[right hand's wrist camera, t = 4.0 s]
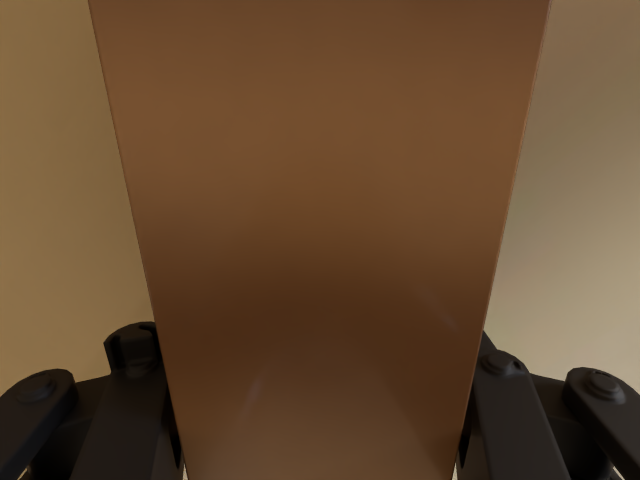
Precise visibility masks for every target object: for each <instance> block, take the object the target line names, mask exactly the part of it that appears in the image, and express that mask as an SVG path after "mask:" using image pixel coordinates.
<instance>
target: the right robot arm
mask: <svg viewBox="0 0 640 480" xmlns="http://www.w3.org/2000/svg"><path fill="white" fill-rule="evenodd" d="M103 344H104V347H105V351H106V354H107V358H108V361H109V365H110V368H111V374H110V375H107V376H103V377H99V378H95V379H90V380H86V381H81V382H77V383H75V381H74V378H73V375H72V373H70V372H69V371H68V370H64V369H51V370H45V371H42V372H39V373H35V374H33V375H30V376H29V377H27V378H25V379H23V380H21V381H19V382H18V383H16V384H15V385H14V386H12V387H11V388H10V389H8V390H7V391H6V392H5V393H4V394H3V395H2V396H1V397H0V480H17V479H18V478H19V476H20V475H21V474H22V472H23V471H24V470H25V468H27V471H26V472H25V474H24V475H23V476H22V477H21V478H20V479H19V480H183V470H184V458H183V454H182V449H181V444H180V439H179V435H178V430H177V425H176V420H175V415H174V411H173V406H172V401H171V396H170V392H169V387H168V382H167V377H166V372H165V368H164V363H163V358H162V353H161V348H160V344H159V339H158V334H157V329H156V325H155V322H151V321H150V322H138V323H134V324H130V325H127V326H125V327H122V328H120V329H118V330H116V331H115V332H114V333H112V334H111V335H109V336H108V338H107V339H106V340H105V341H104V343H103ZM614 466H615V468H616V469H617V470H618V471H619V473H620V474H621V475H622V477H623V478H624V479H625V480H640V395H639V394H638V393H637V392H636V391H635V390H634V389H633V388H631V387H630V386H629V385H627V384H626V383H625V382H624V381H622V380H620V379H619V378H617V377H615V376H613V375H611V374H609V373H606V372H604V371H601V370H597V369H593V368H586V367H580V368H573V369H572V370H571V371H569V372H568V374H567V377H566V380H565V381H561V380H556V379H552V378H547V377H542V376H538V375H535V374H531V373H529V371H528V369H527V368H526V366H525V365H524V363H522V362H521V361H520V360H519V359H517V358H516V357H515V356H513V355H511V354H509V353H507V352H505V351H501V350H497V349H496V347H495V346H494V344H493V343H492V342H491V340H490V339H489V337H488V336H487V335H486V333H485V332H484V330H483V333H482V338H481V343H480V348H479V352H478V357H477V362H476V367H475V372H474V376H473V381H472V386H471V391H470V395H469V400H468V405H467V410H466V415H465V419H464V424H463V429H462V434H461V438H460V443H459V448H458V453H457V458H456V469H457V480H622V479H621V478H620V477H619V476H618V474H617V473H616V472H615V471H614V469H613V467H614Z"/></svg>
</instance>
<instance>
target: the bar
mask: <svg viewBox="0 0 640 480" xmlns="http://www.w3.org/2000/svg"><path fill="white" fill-rule="evenodd" d="M551 3H552V0H88V4H89V9H90V14H91V18H92V23H93V28H94V33H95V37H96V42H97V47H98V52H99V57H100V61H101V66H102V71H103V76H104V81H105V85H106V90H107V95H108V100H109V104H110V109H111V114H112V119H113V124H114V128H115V133H116V138H117V143H118V148H119V152H120V157H121V162H122V167H123V171H124V176H125V181H126V186H127V191H128V195H129V200H130V205H131V210H132V215H133V219H134V224H135V229H136V234H137V238H138V243H139V248H140V253H141V258H142V262H143V267H144V272H145V277H146V281H147V286H148V291H149V296H150V301H151V305H152V310H153V315H154V320H155V325H156V329H157V334H158V339H159V344H160V348H161V353H162V358H163V363H164V368H165V372H166V377H167V382H168V387H169V392H170V396H171V401H172V406H173V411H174V415H175V420H176V425H177V430H178V435H179V439H180V444H181V449H182V454H183V458H184V463H185V468H186V473H187V478H188V480H452V477H453V472H454V467H455V462H456V458H457V453H458V448H459V443H460V438H461V434H462V429H463V424H464V419H465V415H466V410H467V405H468V400H469V395H470V391H471V386H472V381H473V376H474V372H475V367H476V362H477V357H478V352H479V348H480V343H481V338H482V333H483V328H484V324H485V319H486V314H487V309H488V305H489V300H490V295H491V290H492V285H493V281H494V276H495V271H496V266H497V261H498V257H499V252H500V247H501V242H502V238H503V233H504V228H505V223H506V218H507V214H508V209H509V204H510V199H511V194H512V190H513V185H514V180H515V175H516V171H517V166H518V161H519V156H520V151H521V147H522V142H523V137H524V132H525V127H526V123H527V118H528V113H529V108H530V104H531V99H532V94H533V89H534V84H535V80H536V75H537V70H538V65H539V60H540V56H541V51H542V46H543V41H544V37H545V32H546V27H547V22H548V17H549V13H550V8H551Z"/></svg>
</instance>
